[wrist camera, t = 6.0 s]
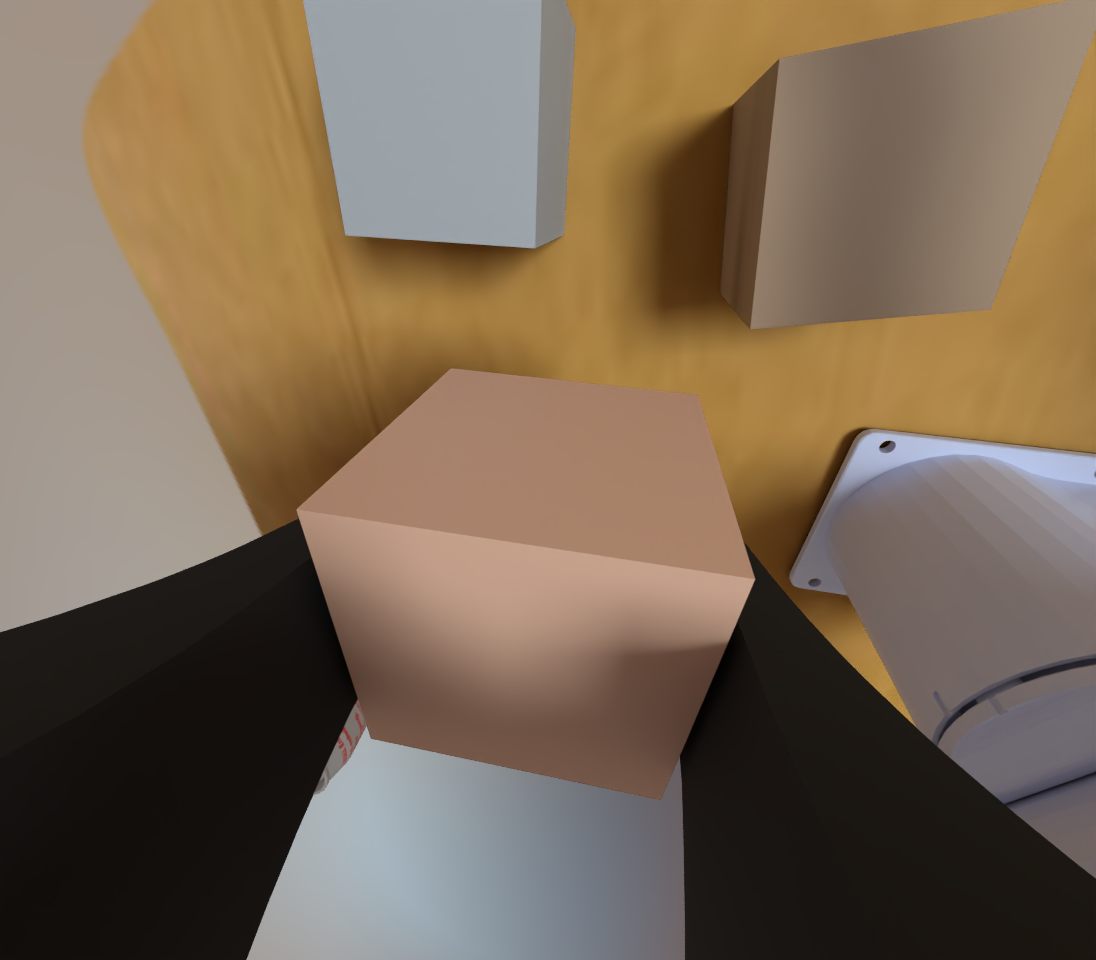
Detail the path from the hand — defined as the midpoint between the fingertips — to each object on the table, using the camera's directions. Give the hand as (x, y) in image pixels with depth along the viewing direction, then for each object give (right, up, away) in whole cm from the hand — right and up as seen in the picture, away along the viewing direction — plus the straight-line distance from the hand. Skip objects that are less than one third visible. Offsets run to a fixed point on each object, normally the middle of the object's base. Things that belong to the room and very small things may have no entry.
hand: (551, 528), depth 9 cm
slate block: (-2, +12, +5) cm, 13 cm away
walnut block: (+8, +10, +4) cm, 13 cm away
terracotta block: (0, +1, +1) cm, 2 cm away
